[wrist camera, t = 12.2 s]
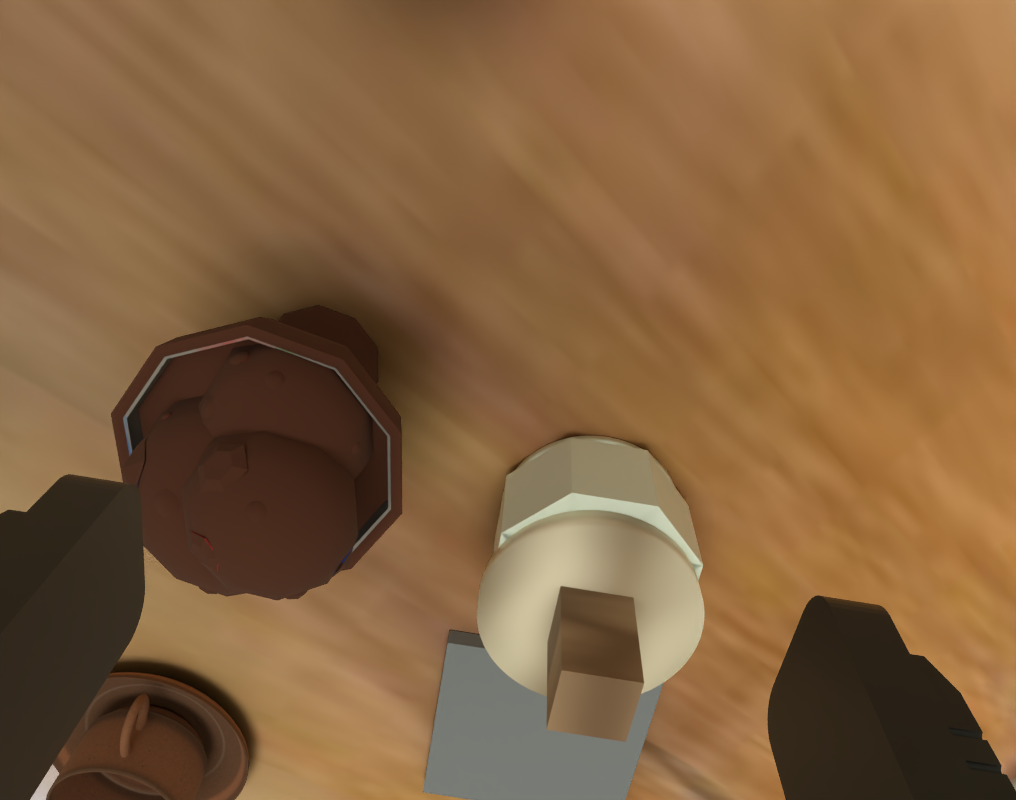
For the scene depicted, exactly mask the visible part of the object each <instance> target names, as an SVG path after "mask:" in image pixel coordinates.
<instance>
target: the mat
mask: <svg viewBox="0 0 1016 800" xmlns="http://www.w3.org/2000/svg"><path fill="white" fill-rule="evenodd" d="M662 686H663V683H662V684H661V685H659V686H657V687H655V688H653V689H651V690H649V691H647V692H644V693H642V694H641V695H640V698H639V702H638V705H637V708H636V711H635V714H634V717H633V721H632V724H631V727H630V730H629V733H628V736H627V740H626V742H623V741H616V740H610V739H603V738H597V737H590V736H584V735H578V734H571V733H565V732H558V731H552V730H547V696H544V695H541V694H539V693H536V692H534V691H532V690H530V689H528V688H526V687H524V686H522V685H521V684H519V683H517V682H516V681H515V680H513V679H512V678H510V677H509V676H508V675H507V674H506V673H504V672H503V671H502V670H501V669H500V668H499V667H498V666H497V664H496V663H495V662H494V661H493V660H492V658H491V657H490V655H489V654H488V652H487V650H486V649H485V647H484V645H483V642H482V640H481V637H480V635H478V634H472V633H466V632H459V631H453V630H450V631H449V637H448V643H447V649H446V655H445V661H444V667H443V673H442V679H441V685H440V691H439V697H438V703H437V709H436V716H435V722H434V728H433V734H432V740H431V746H430V752H429V758H428V764H427V770H426V776H425V782H424V788H423V792H425V793H431V794H438V795H445V796H451V797H458V798H465V799H471V800H625V799H626V796H627V793H628V790H629V787H630V784H631V781H632V778H633V775H634V772H635V769H636V766H637V762H638V759H639V756H640V753H641V750H642V747H643V744H644V741H645V738H646V735H647V732H648V729H649V726H650V723H651V720H652V717H653V713H654V710H655V707H656V704H657V701H658V698H659V695H660V692H661V689H662Z"/></svg>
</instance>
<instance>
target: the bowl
mask: <svg viewBox="0 0 1016 800" xmlns="http://www.w3.org/2000/svg"><path fill="white" fill-rule="evenodd" d="M577 510H602V511H611V512H616V513H621V514H625V515H629V516H632V517H635V518H638V519H640V520H643V521H645V522H647V523H649V524H651V525H653V526H655V527H656V528H658V529H659V530H661V531H663V532H664V533H666V534H667V535H668V536H669V537H670V538H672V539H673V540H674V541H675V542H676V543H677V544H678V545H679V546H680V547H681V549H682V550H683V551H684V552H685V553H686V555H687V557H688V558H689V560H690V561H691V563H692V565H693V567H694V570H695V572H696V574H697V578H698V580H699V577H700V574H701V570H702V567H703V563H702V559H701V555H700V551H699V547H698V543H697V539H696V535H695V531H694V527H693V523H692V519H691V515H690V511H689V507H688V504H687V503H686V501H685V500H684V499H683V497H682V496H681V495H680V493H679V492H678V491H677V489H676V487H675V485H674V483H673V481H672V479H671V477H670V475H669V474H668V472H667V471H666V469H665V468H664V467H663V466H662V465H661V464H660V462H659V461H657V460H656V459H655V458H654V457H653V456H652V455H651V454H650V453H649V452H648V450H644V449H642V448H640V447H638V446H636V445H633V444H631V443H629V442H626V441H623V440H620V439H616V438H612V437H606V436H597V435H589V436H576V437H570V438H566V439H562V440H558V441H556V442H553V443H550V444H548V445H546V446H544V447H542V448H540V449H538V450H537V451H535V452H534V453H532V454H531V455H529V456H528V457H527V458H526V459H525V460H524V461H523V462H522V463H521V464H520V465H519V466H518V467H517V468H516V469H515V471H513V472H512V473H510V474H508V475H507V476H506V482H505V487H504V492H503V496H502V500H501V509H500V514H499V519H498V525H497V530H496V536H495V543H494V552H495V551H496V550H497V549H498V548H499V547H500V546H501V544H502V543H503V542H504V541H506V540H507V539H508V538H509V537H510V536H511V535H513V534H514V533H515V532H517V531H518V530H520V529H522V528H523V527H525V526H527V525H529V524H531V523H533V522H535V521H537V520H539V519H542V518H545V517H548V516H551V515H554V514H559V513H563V512H569V511H577ZM493 554H494V553H493Z"/></svg>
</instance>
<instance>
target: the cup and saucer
mask: <svg viewBox="0 0 1016 800" xmlns="http://www.w3.org/2000/svg"><path fill="white" fill-rule="evenodd" d="M53 765H54V766H55V768H56V769H57V770H58V772H59V773H60V774H59V775H58V777H57V779H56V780H55V782H54V783H53V785H52V787H51V788H50V790H49V792H48V794H47V798H46V800H235V799H236V798H237V796H238V795H239V794H240V792H241V791H242V789H243V787H244V785H245V783H246V779H247V775H248V768H249V754H248V748H247V745H246V742H245V739H244V737H243V735H242V733H241V731H240V729H239V728H238V726H237V725H236V723H235V722H234V721H233V720H232V718H231V717H230V716H229V715H228V714H227V712H226V711H225V710H224V709H223V708H222V707H221V706H219V705H218V704H217V703H216V702H215V701H213V700H212V699H211V698H209V697H208V696H207V695H205V694H204V693H202V692H200V691H199V690H197V689H195V688H193V687H191V686H189V685H187V684H184V683H182V682H180V681H177V680H174V679H171V678H168V677H164V676H160V675H155V674H148V673H138V672H119V673H110V674H109V676H108V677H107V679H106V680H105V682H104V684H103V685H102V687H101V688H100V690H99V691H98V693H97V695H96V696H95V698H94V699H93V701H92V702H91V704H90V706H89V707H88V709H87V710H86V712H85V713H84V715H83V717H82V718H81V720H80V721H79V723H78V725H77V726H76V728H75V729H74V731H73V732H72V734H71V736H70V737H69V739H68V740H67V742H66V743H65V745H64V747H63V748H62V750H61V751H60V753H59V754H58V756H57V758H56V759H55V761H54V762H53Z"/></svg>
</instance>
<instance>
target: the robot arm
mask: <svg viewBox="0 0 1016 800" xmlns="http://www.w3.org/2000/svg"><path fill="white" fill-rule="evenodd" d="M144 595H145V576H144V553H143V530H142V507H141V496H140V492H139V490H138V488H137V487H136V486H135V485H133V484H127V483H121V482H115V481H109V480H102V479H96V478H90V477H84V476H77V475H70V474H68V475H65V476H63V477H61V478H60V479H59V480H58V481H56V483H55V484H54V485H53V486H52V487H51V488H50V489H49V490H48V491H47V492H46V493H45V494H44V495H43V496H42V497H41V498H40V499H39V500H38V501H37V502H36V503H35V504H34V505H33V506H32V507H31V508H30V509H29V510H28V511H27V512H21V511H14V510H7V511H5V512H3V513H1V514H0V800H30V799H31V797H32V795H33V794H34V792H35V791H36V789H37V788H38V786H39V784H40V783H41V781H42V780H43V778H44V777H45V775H46V773H47V772H48V770H49V769H50V767H51V766H52V764H53V762H54V761H55V759H56V758H57V756H58V754H59V753H60V751H61V750H62V748H63V747H64V745H65V743H66V742H67V740H68V739H69V737H70V736H71V734H72V732H73V731H74V729H75V728H76V726H77V725H78V723H79V721H80V720H81V718H82V717H83V715H84V713H85V712H86V710H87V709H88V707H89V706H90V704H91V702H92V701H93V699H94V698H95V696H96V695H97V693H98V691H99V690H100V688H101V687H102V685H103V684H104V682H105V680H106V679H107V677H108V676H109V674H110V673H111V671H112V669H113V668H114V666H115V665H116V663H117V661H118V660H119V658H120V657H121V655H122V654H123V652H124V650H125V649H126V647H127V646H128V644H129V642H130V641H131V639H132V637H133V635H134V633H135V630H136V628H137V625H138V622H139V619H140V616H141V612H142V608H143V603H144ZM982 733H983V732H982V730H981V729H980V727H979V725H978V723H977V722H976V720H975V718H974V716H973V714H972V713H971V711H970V709H969V707H968V706H967V704H966V702H965V700H964V699H963V697H962V695H961V693H960V692H959V691H958V690H957V689H956V688H955V687H954V686H953V685H952V684H951V683H950V682H949V681H948V680H947V679H946V678H945V677H944V676H943V675H942V674H941V673H940V672H939V671H938V670H937V669H936V668H935V667H934V666H933V665H932V664H931V663H930V662H929V661H928V660H927V659H926V658H925V657H924V656H919V655H912V654H910V653H909V652H908V650H907V648H906V646H905V644H904V642H903V640H902V638H901V636H900V634H899V632H898V631H897V629H896V627H895V625H894V623H893V621H892V619H891V617H890V615H889V614H888V612H887V611H886V610H885V609H884V608H883V607H882V606H880V605H874V604H868V603H862V602H855V601H849V600H843V599H837V598H830V597H824V596H815V597H813V598H812V599H811V600H810V601H809V602H808V604H807V605H806V607H805V609H804V611H803V614H802V616H801V619H800V621H799V624H798V626H797V629H796V631H795V634H794V636H793V639H792V641H791V643H790V646H789V648H788V651H787V653H786V656H785V658H784V661H783V663H782V666H781V668H780V670H779V673H778V675H777V678H776V680H775V683H774V685H773V688H772V691H771V695H770V700H769V707H768V734H769V740H770V744H771V748H772V752H773V755H774V759H775V762H776V766H777V770H778V773H779V777H780V780H781V784H782V787H783V791H784V794H785V798H786V800H1016V791H1015V789H1014V787H1013V785H1012V784H1011V782H1010V780H1009V778H1008V776H1007V775H1005V774H1002V773H1001V764H1000V762H999V761H998V759H997V757H996V755H995V753H994V752H993V750H992V748H991V746H990V745H989V743H988V741H987V740H983V739H982Z"/></svg>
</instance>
